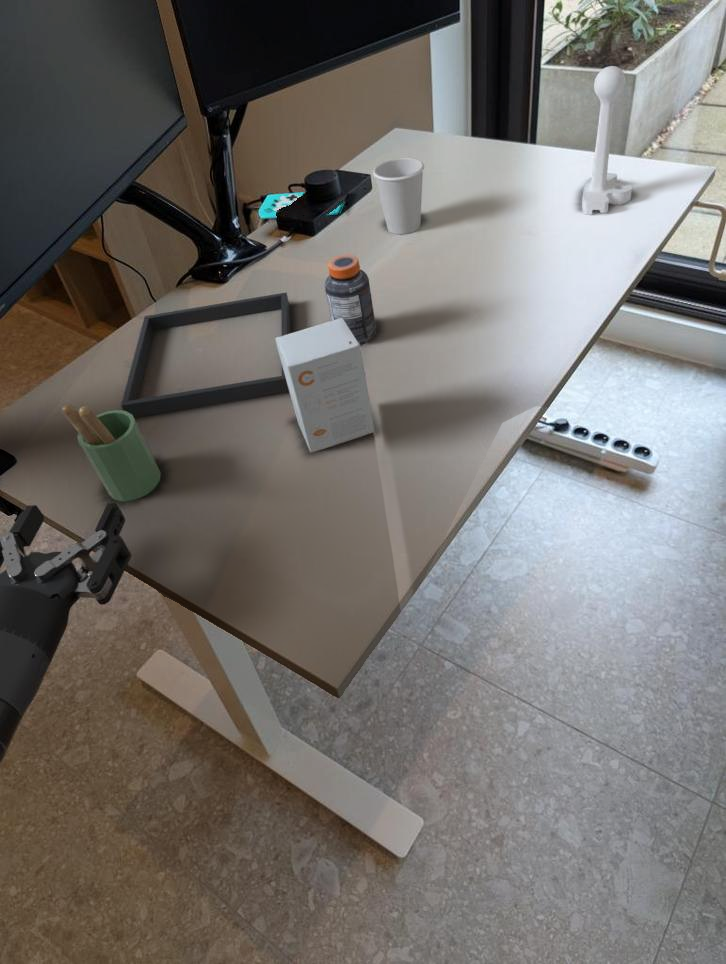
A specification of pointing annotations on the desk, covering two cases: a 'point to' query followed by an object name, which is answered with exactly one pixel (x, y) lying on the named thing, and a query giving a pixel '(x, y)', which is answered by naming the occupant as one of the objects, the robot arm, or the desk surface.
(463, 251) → the desk surface
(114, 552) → the robot arm
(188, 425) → the desk surface
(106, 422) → the green cup
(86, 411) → the stick
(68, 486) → the desk surface
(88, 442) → the stick
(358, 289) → the pill bottle
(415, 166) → the dixie cup
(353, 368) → the small box
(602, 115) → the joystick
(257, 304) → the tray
